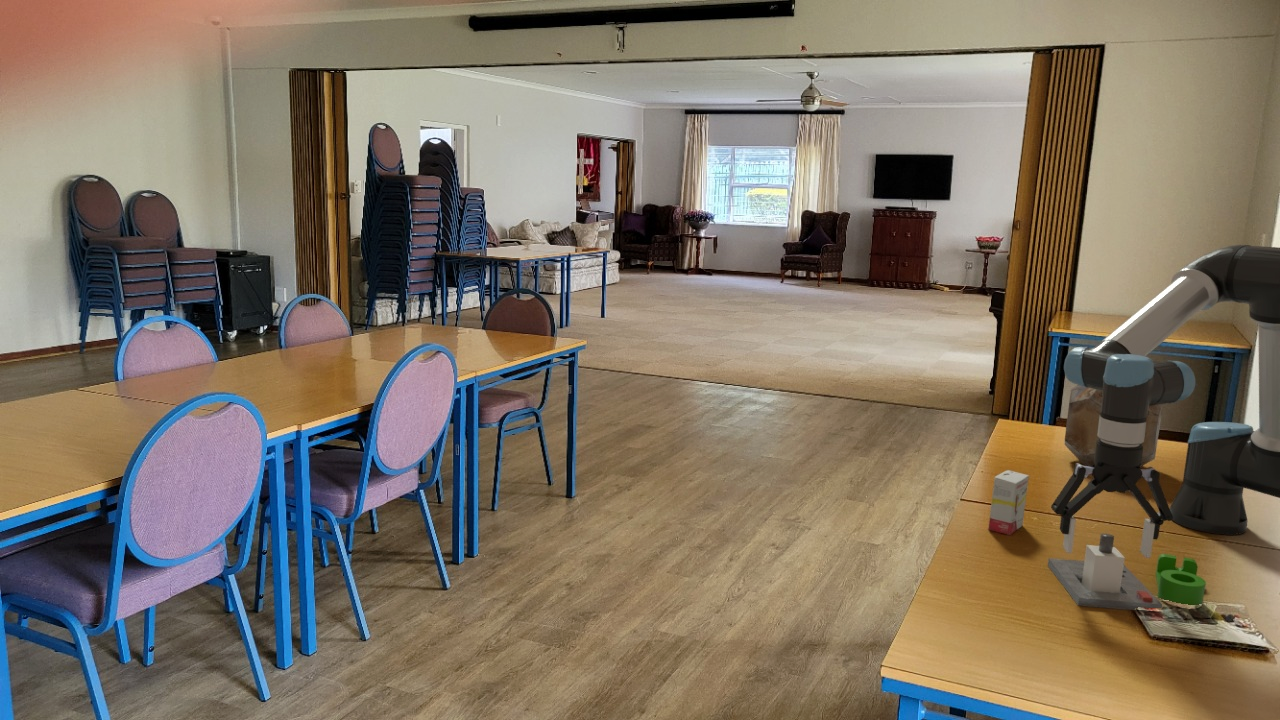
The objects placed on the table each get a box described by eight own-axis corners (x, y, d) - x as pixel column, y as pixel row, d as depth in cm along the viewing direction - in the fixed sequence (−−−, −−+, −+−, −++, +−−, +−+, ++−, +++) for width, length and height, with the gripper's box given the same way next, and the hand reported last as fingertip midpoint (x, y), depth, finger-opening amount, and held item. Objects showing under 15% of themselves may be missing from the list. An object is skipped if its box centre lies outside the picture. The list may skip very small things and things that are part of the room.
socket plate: (1122, 571, 183) (1123, 561, 183) (1160, 612, 166) (1162, 601, 165) (1047, 565, 185) (1048, 555, 185) (1078, 605, 167) (1079, 594, 167)
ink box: (1010, 536, 200) (1016, 483, 198) (987, 530, 203) (992, 477, 201) (1024, 525, 206) (1030, 474, 204) (1001, 520, 210) (1007, 469, 207)
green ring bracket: (1203, 614, 167) (1207, 589, 166) (1158, 605, 170) (1161, 581, 169) (1195, 582, 180) (1199, 559, 179) (1153, 575, 183) (1157, 552, 182)
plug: (1109, 587, 176) (1117, 531, 174) (1118, 599, 171) (1126, 541, 169) (1081, 585, 176) (1088, 529, 174) (1090, 596, 172) (1097, 539, 169)
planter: (1174, 480, 243) (1187, 390, 238) (1079, 477, 243) (1091, 387, 239) (1131, 455, 265) (1143, 373, 260) (1044, 452, 265) (1054, 370, 260)
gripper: (1184, 438, 170) (1169, 549, 175) (1041, 431, 173) (1029, 540, 177) (1203, 450, 163) (1187, 565, 167) (1053, 443, 166) (1041, 556, 170)
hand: (1106, 552), depth 172 cm, fingers open, 13 cm apart
